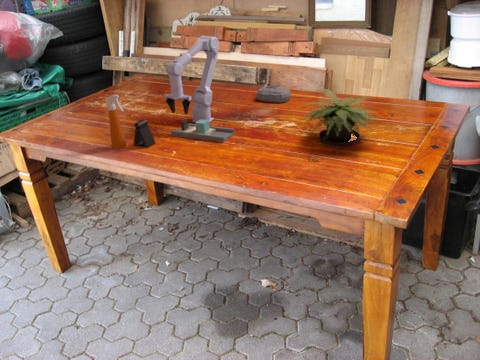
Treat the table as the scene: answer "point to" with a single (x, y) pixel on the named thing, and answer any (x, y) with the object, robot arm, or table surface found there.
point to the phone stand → (143, 135)
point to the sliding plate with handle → (193, 128)
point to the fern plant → (340, 120)
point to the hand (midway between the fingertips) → (180, 113)
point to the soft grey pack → (273, 94)
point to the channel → (218, 135)
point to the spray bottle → (115, 123)
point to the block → (202, 126)
